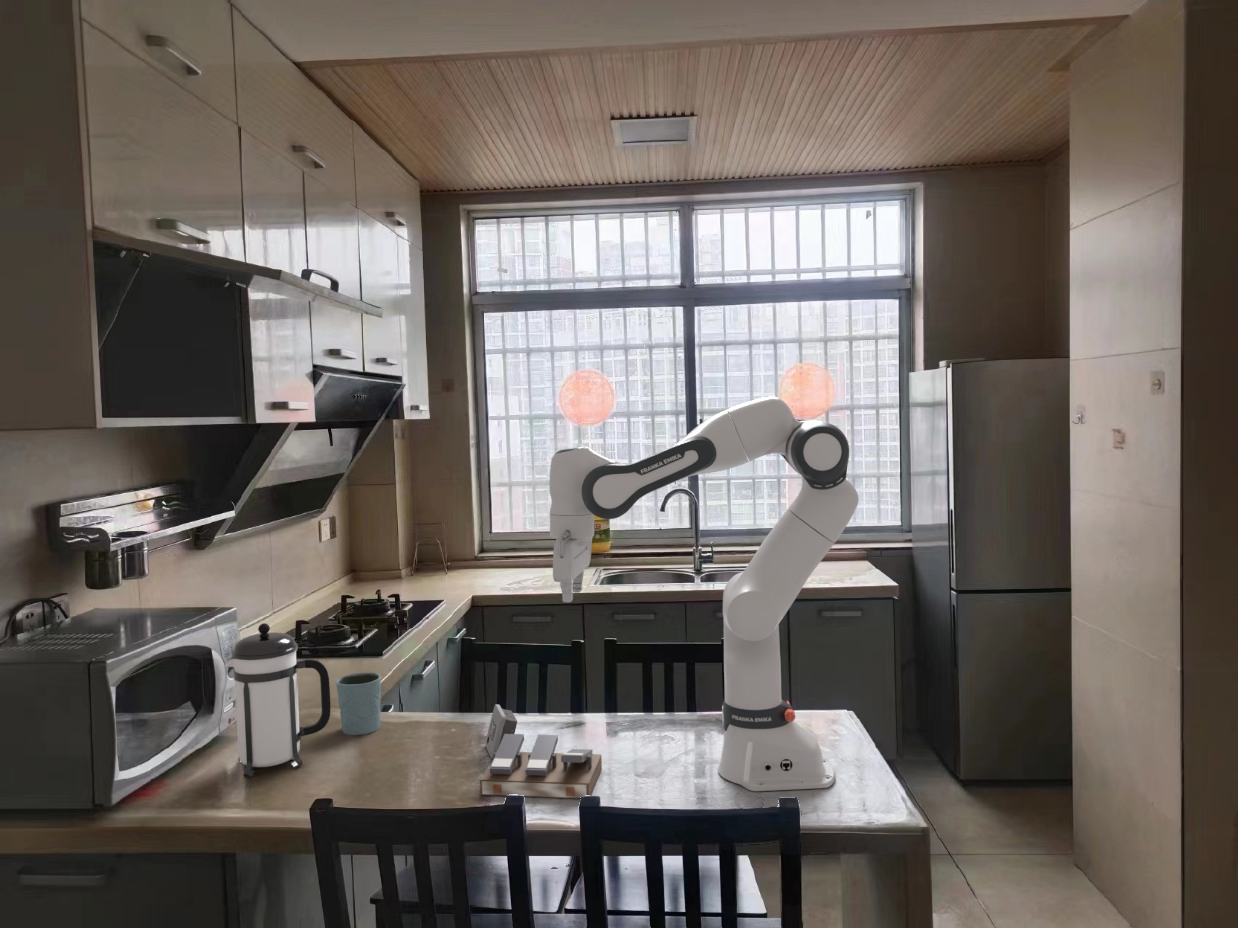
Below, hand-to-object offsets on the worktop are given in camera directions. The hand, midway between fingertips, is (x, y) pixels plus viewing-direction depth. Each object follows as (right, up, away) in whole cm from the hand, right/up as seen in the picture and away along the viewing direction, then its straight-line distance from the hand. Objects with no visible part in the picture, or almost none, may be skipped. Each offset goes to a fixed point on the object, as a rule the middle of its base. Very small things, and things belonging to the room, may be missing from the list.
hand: (572, 596), depth 172 cm
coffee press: (-63, -37, +10) cm, 74 cm away
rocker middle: (-6, -30, -4) cm, 31 cm away
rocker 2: (+1, -30, -5) cm, 31 cm away
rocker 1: (-13, -30, -3) cm, 33 cm away
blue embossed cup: (-51, -36, +30) cm, 69 cm away
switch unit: (-6, -36, -3) cm, 36 cm away
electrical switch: (-16, -36, +13) cm, 41 cm away
